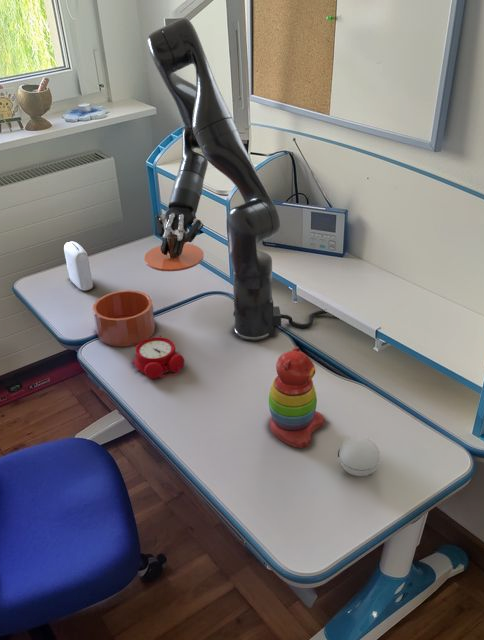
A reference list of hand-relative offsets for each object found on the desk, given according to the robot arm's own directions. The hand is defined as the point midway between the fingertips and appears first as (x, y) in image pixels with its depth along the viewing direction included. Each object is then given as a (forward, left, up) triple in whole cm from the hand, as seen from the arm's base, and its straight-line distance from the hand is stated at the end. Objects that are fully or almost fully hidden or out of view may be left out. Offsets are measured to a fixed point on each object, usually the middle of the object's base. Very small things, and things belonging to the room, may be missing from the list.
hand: (170, 254), depth 170 cm
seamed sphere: (-34, +68, -14) cm, 77 cm away
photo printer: (+27, -14, -14) cm, 34 cm away
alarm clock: (+3, +30, -14) cm, 33 cm away
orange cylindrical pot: (+12, +13, -14) cm, 23 cm away
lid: (-1, -2, -2) cm, 3 cm away
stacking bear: (-25, +54, -14) cm, 61 cm away
